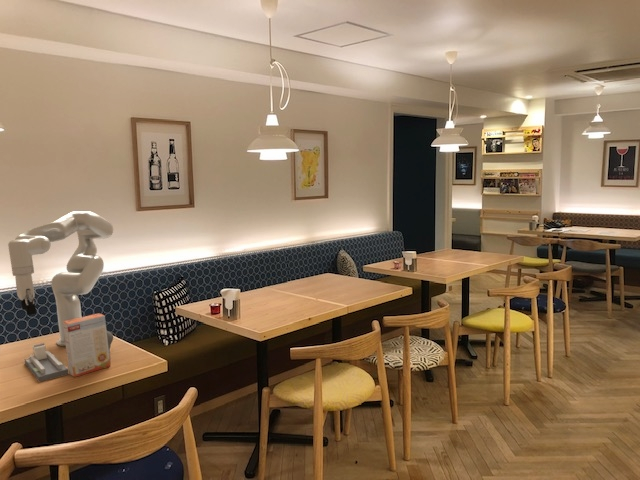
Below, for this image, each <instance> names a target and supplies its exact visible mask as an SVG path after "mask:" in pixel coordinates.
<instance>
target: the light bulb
mask: <svg viewBox="0 0 640 480" xmlns="http://www.w3.org/2000/svg"><path fill="white" fill-rule="evenodd" d="M107 339H108V348H109V354H111V345H112V342H113V340H114V335H113V333H112V332H110V331H109V330H107Z"/></svg>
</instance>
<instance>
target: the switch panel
mask: <svg viewBox="0 0 640 480" xmlns="http://www.w3.org/2000/svg"><path fill="white" fill-rule="evenodd" d="M46 354H47V358H46V359H42V360H37V359H36V358H35V357H34V354H29V357H28V358H25V359H24V365H25V366H26V367H27V368H28V370H29V371H30V372H31V373H32V375H33V376H34V377H35V378H36V379H37V381H38V383H39V382H43V381H48V380H52V379H55V378H59V377H60V378H61V377H63V376H67V375H69V368H67V366H66V365H64V364H63V363H62V361H61V360H60V359H58V357H57V356H56V355H55V354H54V353H52V352H50V351H49V350H46Z"/></svg>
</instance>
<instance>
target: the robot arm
mask: <svg viewBox="0 0 640 480" xmlns="http://www.w3.org/2000/svg"><path fill="white" fill-rule="evenodd" d="M75 233H76V234H77V238H78V245H77V248H76V250H75V251H74V253H72V256H71V257H70V258H69V260H68V262H67V264H66V270H67V272H66V271H65V272H59V273H56V274H54V276H53V277H52V279H51V283H50V284H51V289H52V292H53V294H54V295H53V296H54V298H55V305H56V313H57V322H58V323H57V324H58V330H59V338H58V339H57V340H56V344H57V345H58V346H61V347H66V344H65V336H64V328H63V321H67V320H72V319H76V318H81V317H83V316H82V309H81V300H80V299H79V296H80V295H87V294H89V293H90V292H91V291H92V289H94V286H95V285H96V283H97V282H98V280H99V278H100V277H101V276H102V275H101V274H102V273H103V271H104V267H105V266H104V260H103V258H102V257H101V256H99V255H97V253H98V249H97V245H96V244H95V241H94V239H99V240H100V239H103V240H104V239H109V238H110V237H112V235H113V233H114V227H113V224H112V223H111V222H110V221H109V220H108V219H106V218H104V217H103V216H101V215H99V214H97V213H95V212H93V211H90V210H89V211H88V210H87V211H83V210H82V211H79V210H78V211H70V212H69V213H66V214H64V215H63V216H61V217H59V218H58V219H56V220H54V221H53V222H52V221H51V222H50V223H46V224H43V225H41V226H40V225H39V226H37V227H34V228H31V229H28V230H26V231H24V232H23V233H20V234H19V235H18V236H16V237H15V238H14V239H13V240H10V241H9V242H8V244H7V246H8V252H9V259H10V267H11V272H12V276H13V277H15V286H16V288H15V289H16V296H17V298H18V299H19V300H20V303H21V309H22V311H23V310H24V311H26V315H27V316H30V315H31V316H32V315H36V314H37V309H36V304H35V300H34V298H35V295H36V294H35V288H34V281H33V276H32V274H35V269H34V262H33V256H35V255H43V254H45V253H48V251H49V250H50V249H51V243H55V242H58V241H63V240H65V239H66V238H68V237H69V236H71V235H72V234H75ZM78 295H79V296H78Z"/></svg>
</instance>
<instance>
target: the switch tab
mask: <svg viewBox="0 0 640 480" xmlns="http://www.w3.org/2000/svg"><path fill="white" fill-rule="evenodd" d="M45 344H46V343H45V342H43V343H42V342H41V343H39V344H37V343H36V344H33V345H32V350H33V356H34V357H35V358H36V359H37V360H42V359H46V358H47V354H46V351H47V346H46V345H45Z"/></svg>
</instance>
